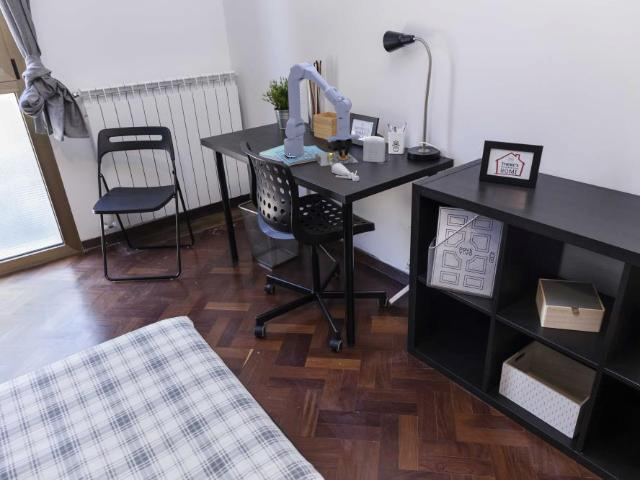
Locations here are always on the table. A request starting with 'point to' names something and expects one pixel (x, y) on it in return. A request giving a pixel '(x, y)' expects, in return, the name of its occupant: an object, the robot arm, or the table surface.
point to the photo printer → (374, 149)
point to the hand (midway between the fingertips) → (343, 155)
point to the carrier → (332, 158)
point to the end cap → (333, 144)
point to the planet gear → (343, 156)
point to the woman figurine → (343, 172)
